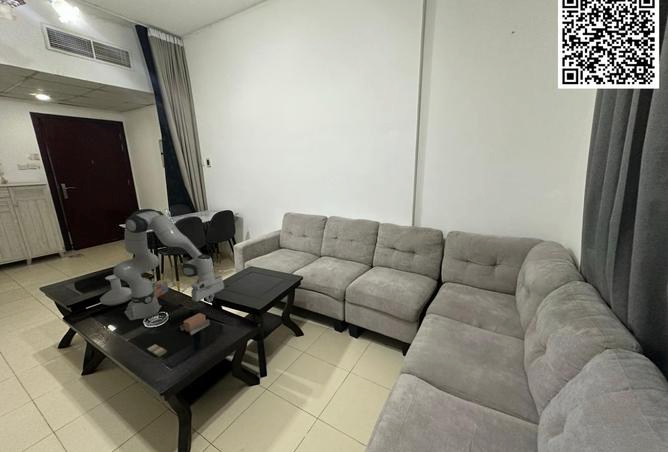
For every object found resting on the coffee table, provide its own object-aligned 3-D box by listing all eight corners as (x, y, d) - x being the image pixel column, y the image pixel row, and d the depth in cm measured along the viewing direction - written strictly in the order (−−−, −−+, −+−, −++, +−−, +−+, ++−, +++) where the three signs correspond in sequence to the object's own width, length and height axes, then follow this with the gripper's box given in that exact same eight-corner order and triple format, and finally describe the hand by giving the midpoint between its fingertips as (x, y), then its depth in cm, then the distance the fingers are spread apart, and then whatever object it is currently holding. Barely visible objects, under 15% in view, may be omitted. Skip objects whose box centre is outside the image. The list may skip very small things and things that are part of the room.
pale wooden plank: (147, 350, 139) (146, 343, 138) (202, 319, 166) (201, 314, 165) (159, 356, 134) (157, 349, 133) (213, 324, 161) (213, 318, 160)
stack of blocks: (162, 290, 209) (159, 276, 206) (169, 291, 208) (166, 276, 205) (137, 303, 188) (134, 288, 186) (145, 304, 187) (142, 288, 185)
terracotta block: (184, 330, 153) (183, 321, 152) (200, 321, 162) (199, 312, 161) (190, 332, 151) (189, 323, 150) (206, 324, 159) (205, 315, 158)
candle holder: (135, 292, 207) (130, 269, 203) (137, 301, 192) (132, 277, 187) (101, 300, 194) (96, 276, 190) (100, 311, 179) (94, 285, 175)
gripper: (218, 274, 171) (220, 293, 174) (188, 286, 153) (191, 307, 156) (224, 275, 168) (227, 295, 171) (195, 288, 150) (198, 310, 153)
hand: (210, 301), depth 163 cm, fingers closed
